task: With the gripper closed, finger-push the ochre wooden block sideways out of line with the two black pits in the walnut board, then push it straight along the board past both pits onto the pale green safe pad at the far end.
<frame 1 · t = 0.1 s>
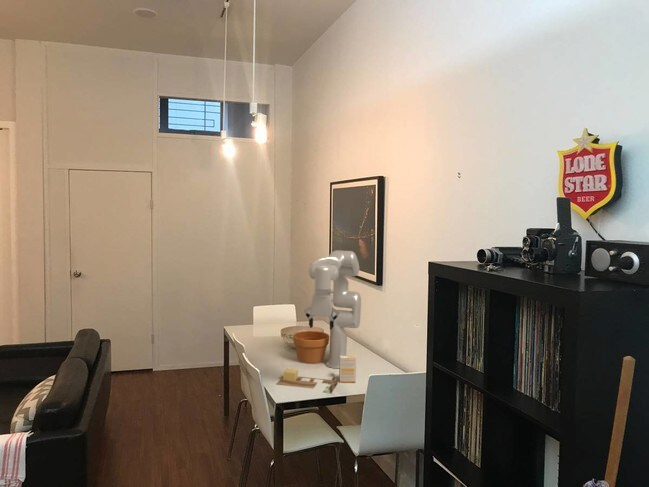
hand: (321, 328, 243), 31 cm above the table, fingers open, 9 cm apart
flower pot: (310, 360, 297), on the table
ochre block: (290, 378, 259), point 1 cm above the table, touching trap board
supplement box: (347, 381, 262), on the table
trap board: (307, 385, 254), on the table
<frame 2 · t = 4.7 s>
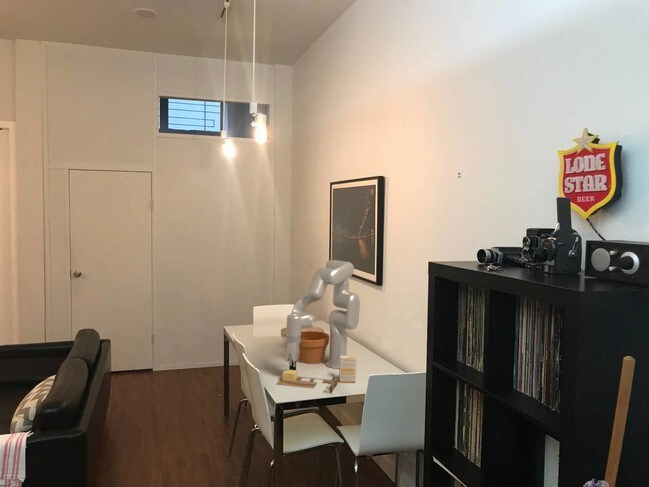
hand: (292, 373, 262), 3 cm above the table, fingers closed
ochre block: (289, 379, 257), point 1 cm above the table, touching gripper
everything else where it was.
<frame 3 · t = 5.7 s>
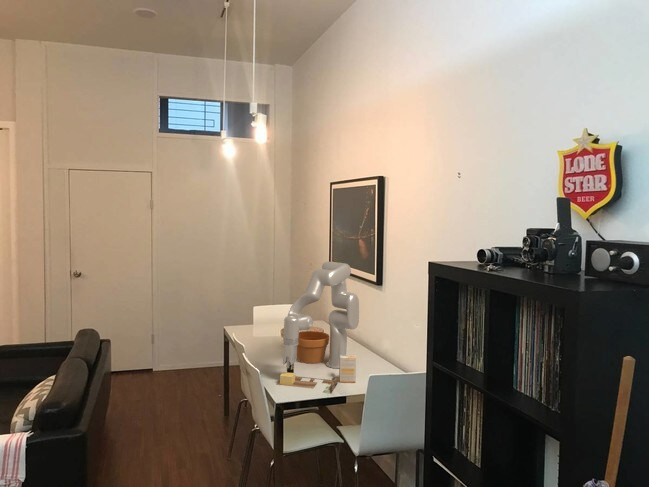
hand: (290, 376, 258), 3 cm above the table, fingers closed
ochre block: (287, 382, 253), point 1 cm above the table, touching gripper, trap board
everything else where it was.
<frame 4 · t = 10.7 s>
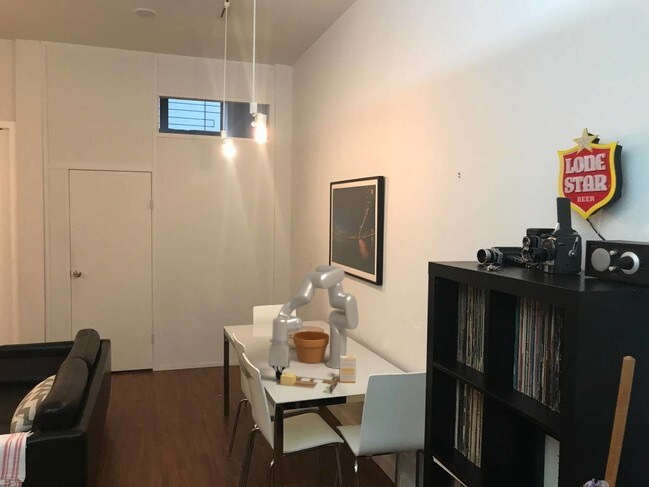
hand: (278, 378, 254), 3 cm above the table, fingers closed
nothing on the table moved.
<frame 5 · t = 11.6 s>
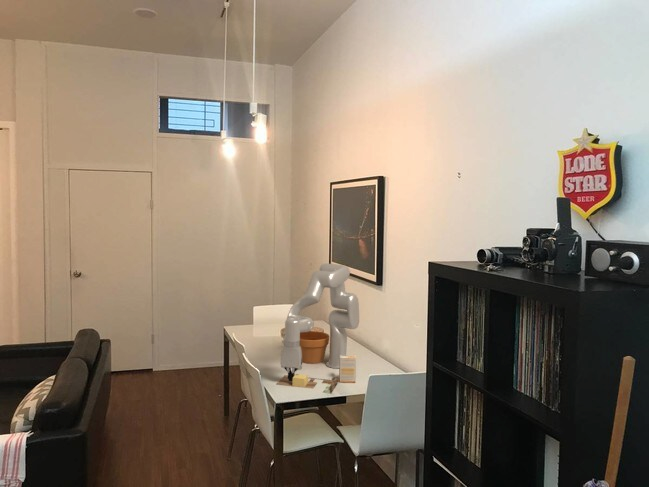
hand: (291, 380, 253), 3 cm above the table, fingers closed
ochre block: (300, 384, 250), point 2 cm above the table, touching gripper, trap board
everything else where it was.
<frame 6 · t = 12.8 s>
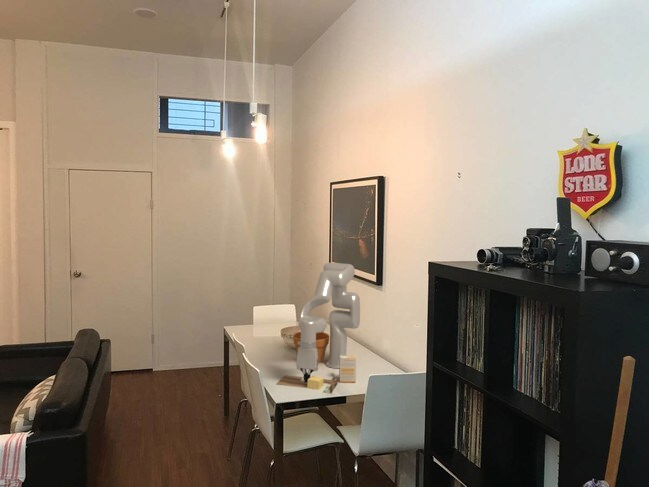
hand: (306, 381, 251), 3 cm above the table, fingers closed
ochre block: (315, 386, 248), point 2 cm above the table, touching gripper
everything else where it was.
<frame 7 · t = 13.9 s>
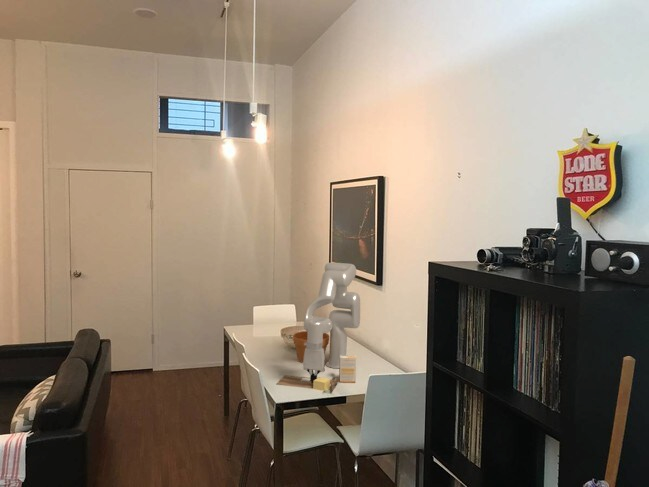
hand: (313, 382, 250), 3 cm above the table, fingers closed
ochre block: (321, 388, 246), point 1 cm above the table, touching gripper
everything else where it was.
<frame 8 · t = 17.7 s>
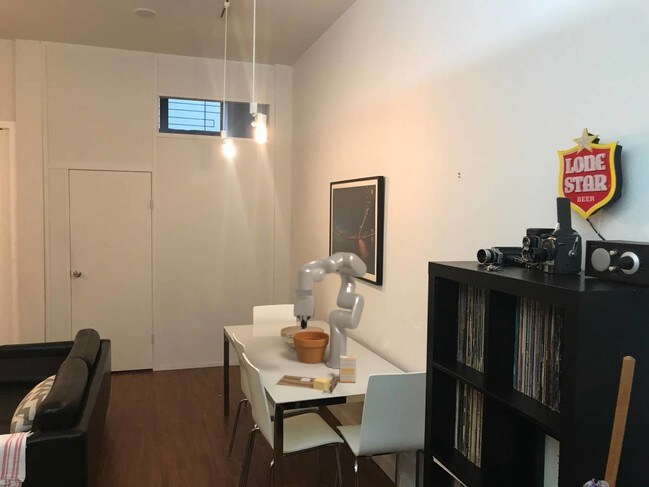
hand: (303, 328, 258), 27 cm above the table, fingers closed
ochre block: (321, 388, 246), point 1 cm above the table, touching trap board
everything else where it was.
at the end: ochre block 2.7 cm from the target spot on the trap board, point 1.4 cm above the trap board's base; ochre block tilted 0° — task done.
